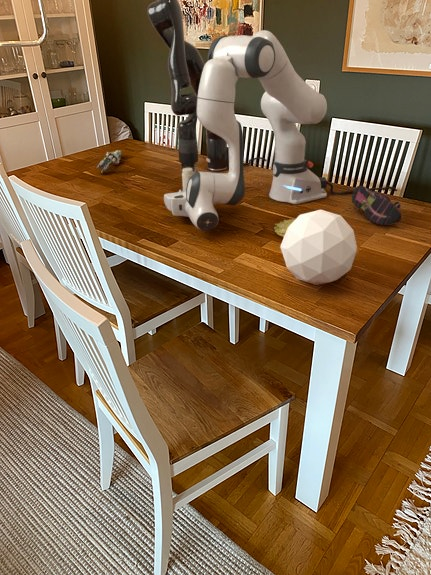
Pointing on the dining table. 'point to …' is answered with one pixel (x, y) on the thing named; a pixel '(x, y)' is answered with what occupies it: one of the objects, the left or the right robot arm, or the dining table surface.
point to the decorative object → (283, 227)
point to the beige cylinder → (186, 176)
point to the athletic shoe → (376, 206)
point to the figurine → (110, 160)
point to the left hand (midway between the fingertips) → (190, 191)
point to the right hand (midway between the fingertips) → (188, 190)
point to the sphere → (319, 247)
